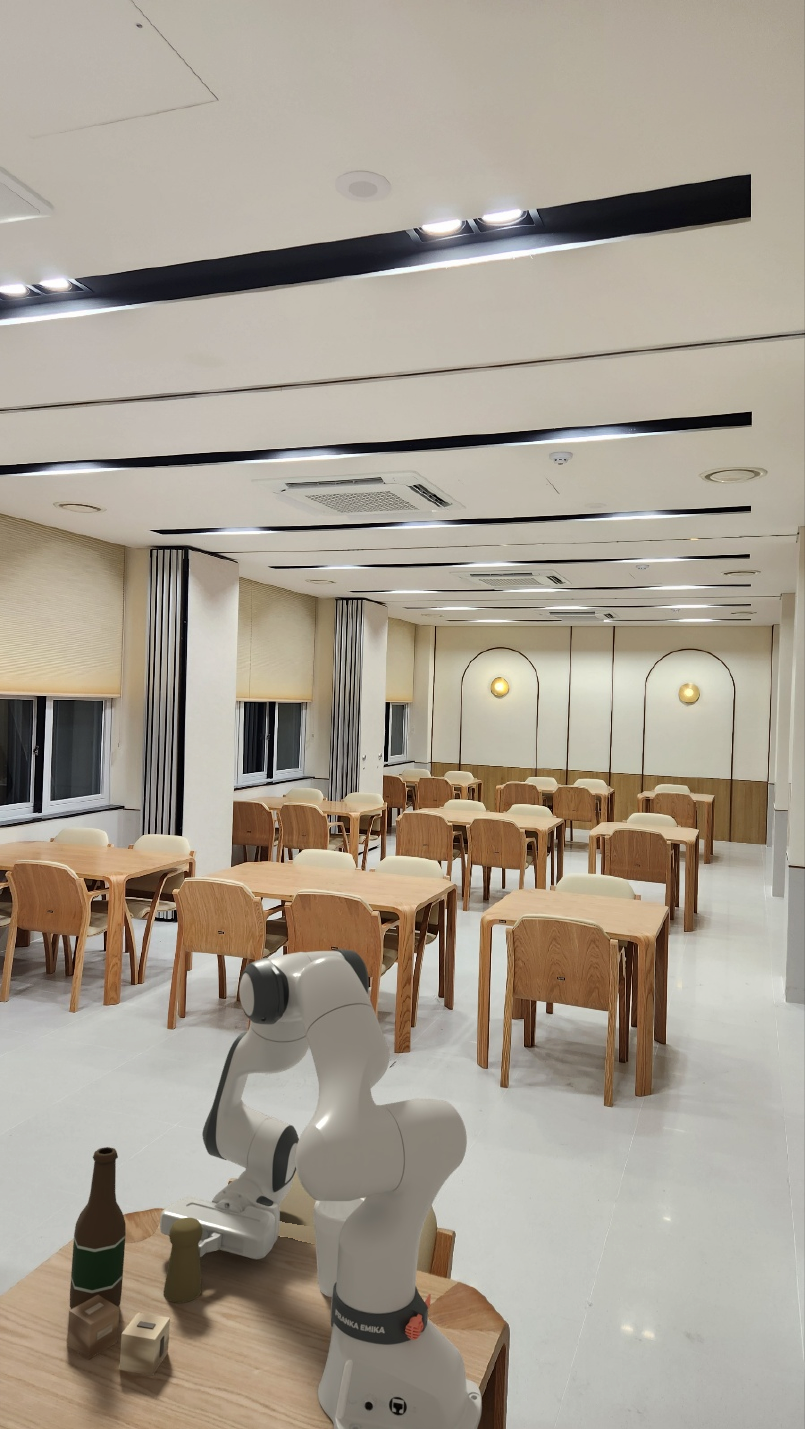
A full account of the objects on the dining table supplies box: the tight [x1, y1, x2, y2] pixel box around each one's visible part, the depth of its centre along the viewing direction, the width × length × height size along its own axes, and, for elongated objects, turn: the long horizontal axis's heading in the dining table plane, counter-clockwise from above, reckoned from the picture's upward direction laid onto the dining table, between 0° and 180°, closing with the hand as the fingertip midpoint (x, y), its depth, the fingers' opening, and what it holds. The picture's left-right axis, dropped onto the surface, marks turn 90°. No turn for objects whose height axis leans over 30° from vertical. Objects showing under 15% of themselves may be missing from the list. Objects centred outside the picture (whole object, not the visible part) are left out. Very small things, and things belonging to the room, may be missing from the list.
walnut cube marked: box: [66, 1295, 120, 1361], centre depth 132 cm, size 5×5×5 cm
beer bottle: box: [69, 1146, 127, 1310], centre depth 141 cm, size 8×8×24 cm
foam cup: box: [312, 1197, 365, 1298], centre depth 149 cm, size 10×9×13 cm
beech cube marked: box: [118, 1312, 171, 1377], centre depth 129 cm, size 5×5×5 cm
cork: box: [163, 1217, 203, 1304], centre depth 146 cm, size 6×6×11 cm
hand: (192, 1250), depth 147 cm, fingers closed, pressing on cork
